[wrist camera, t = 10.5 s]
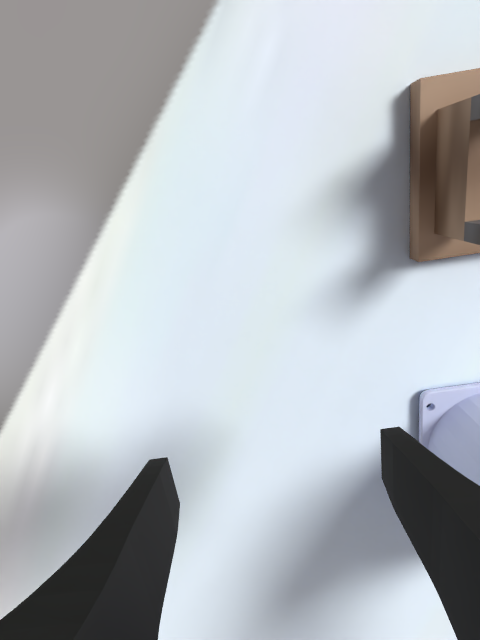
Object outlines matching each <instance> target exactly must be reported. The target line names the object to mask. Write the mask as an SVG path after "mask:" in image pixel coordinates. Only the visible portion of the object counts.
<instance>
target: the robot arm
mask: <svg viewBox="0 0 480 640" xmlns="http://www.w3.org/2000/svg"><path fill="white" fill-rule="evenodd" d="M430 403H432V404H431V406H429V407H426V406H427V405H428V404H430ZM381 464H382V480H383V482H384V485H385V487H386V490H387V493H388V495H389V498H390V500H391V503H392V505H393V508H394V510H395V512H396V514H397V516H398V518H399V519H400V521H401V523H402V525H403V527H404V529H405V531H406V533H407V535H408V537H409V538H410V540H411V542H412V544H413V546H414V548H415V550H416V552H417V554H418V555H419V557H420V559H421V561H422V563H423V565H424V567H425V569H426V570H427V572H428V574H429V576H430V578H431V580H432V582H433V584H434V586H435V588H436V590H437V592H438V595H439V597H440V599H441V601H442V604H443V606H444V609H445V611H446V613H447V616H448V618H449V620H450V623H451V625H452V627H453V630H454V632H455V634H456V637H457V639H458V640H480V383H473V384H465V385H458V386H451V387H443V388H436V389H428V390H425V391H423V392H422V393H421V395H420V398H419V442H418V441H417V440H415V439H414V438H413V437H412V436H410V435H409V434H408V433H407V432H405V431H404V430H403V429H401V428H400V427H394V428H386V429H381ZM179 508H180V502H179V498H178V495H177V491H176V487H175V484H174V480H173V476H172V473H171V469H170V465H169V462H168V458H159V459H151V460H149V461H148V463H147V464H146V465H145V467H144V468H143V469H142V471H141V472H140V473H139V475H138V476H137V478H136V479H135V480H134V482H133V483H132V484H131V486H130V487H129V489H128V490H127V491H126V493H125V494H124V495H123V497H122V498H121V499H120V500H119V502H118V503H117V504H116V506H115V507H114V508H113V510H112V511H111V512H110V513H109V515H108V516H107V517H106V518H105V519H104V521H103V522H102V523H101V524H100V525H99V527H98V528H97V529H96V530H95V531H94V533H93V534H92V535H91V536H90V537H89V538H88V540H87V541H86V542H85V543H84V544H83V545H82V546H81V547H80V548H79V549H78V550H77V551H76V552H75V553H74V554H73V555H72V556H71V558H70V559H69V560H68V561H67V562H66V563H65V564H64V565H63V566H62V567H61V568H60V569H58V570H57V571H56V572H55V573H54V574H53V575H52V576H51V577H50V578H49V579H48V580H46V581H45V582H44V583H43V584H42V585H41V586H40V587H39V588H38V589H37V590H36V591H35V592H33V593H32V594H31V595H30V596H29V597H28V598H27V599H25V600H24V601H23V602H22V603H21V604H19V605H18V606H17V607H16V608H15V609H14V610H12V611H11V612H10V613H9V614H7V615H6V616H5V617H4V618H2V619H1V620H0V640H158V632H159V624H160V618H161V613H162V607H163V602H164V597H165V592H166V588H167V583H168V578H169V573H170V568H171V563H172V558H173V553H174V548H175V543H176V538H177V531H178V521H179Z"/></svg>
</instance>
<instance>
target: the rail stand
mask: <svg viewBox="0 0 480 640" xmlns="http://www.w3.org/2000/svg"><path fill="white" fill-rule="evenodd" d="M475 253H480V68H478V69H472V70H466V71H460V72H454V73H449V74H443V75H437V76H431V77H426V78H420V79H419V80H417V81H415V82H413V83H412V84H410V259H412V260H415V261H417V262H422V261H429V260H436V259H442V258H449V257H455V256H462V255H469V254H475Z"/></svg>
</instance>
